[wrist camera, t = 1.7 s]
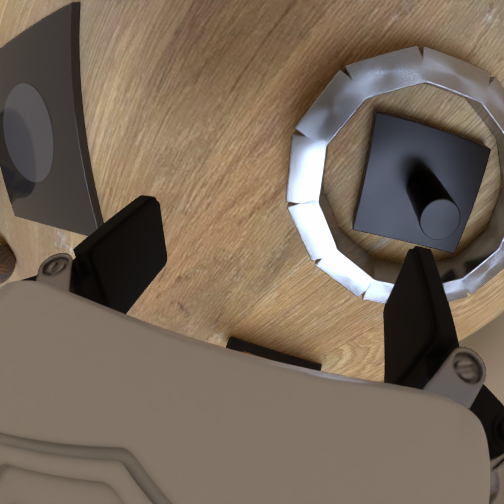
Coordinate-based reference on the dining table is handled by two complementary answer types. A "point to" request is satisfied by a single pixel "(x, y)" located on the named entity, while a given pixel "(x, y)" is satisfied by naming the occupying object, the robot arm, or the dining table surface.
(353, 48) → the dining table surface
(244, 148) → the dining table surface
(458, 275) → the steel ring
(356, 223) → the ring stand
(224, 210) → the dining table surface
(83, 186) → the hob plate
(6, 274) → the vase
